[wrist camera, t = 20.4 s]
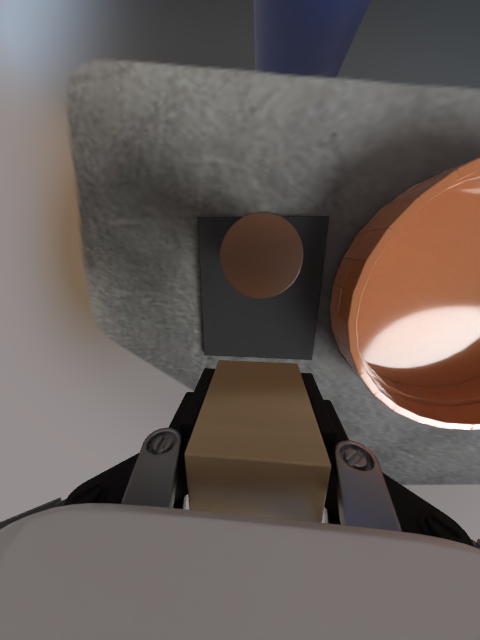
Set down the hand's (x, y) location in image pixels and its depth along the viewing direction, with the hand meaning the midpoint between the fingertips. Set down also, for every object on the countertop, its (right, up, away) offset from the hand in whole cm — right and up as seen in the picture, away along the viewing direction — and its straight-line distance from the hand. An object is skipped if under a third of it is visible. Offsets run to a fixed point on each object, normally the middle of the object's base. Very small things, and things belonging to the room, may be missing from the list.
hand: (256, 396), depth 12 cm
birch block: (0, 0, 0) cm, 0 cm away
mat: (+1, +6, +8) cm, 10 cm away
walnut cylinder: (+1, +9, +6) cm, 11 cm away
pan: (+16, +6, +6) cm, 18 cm away
